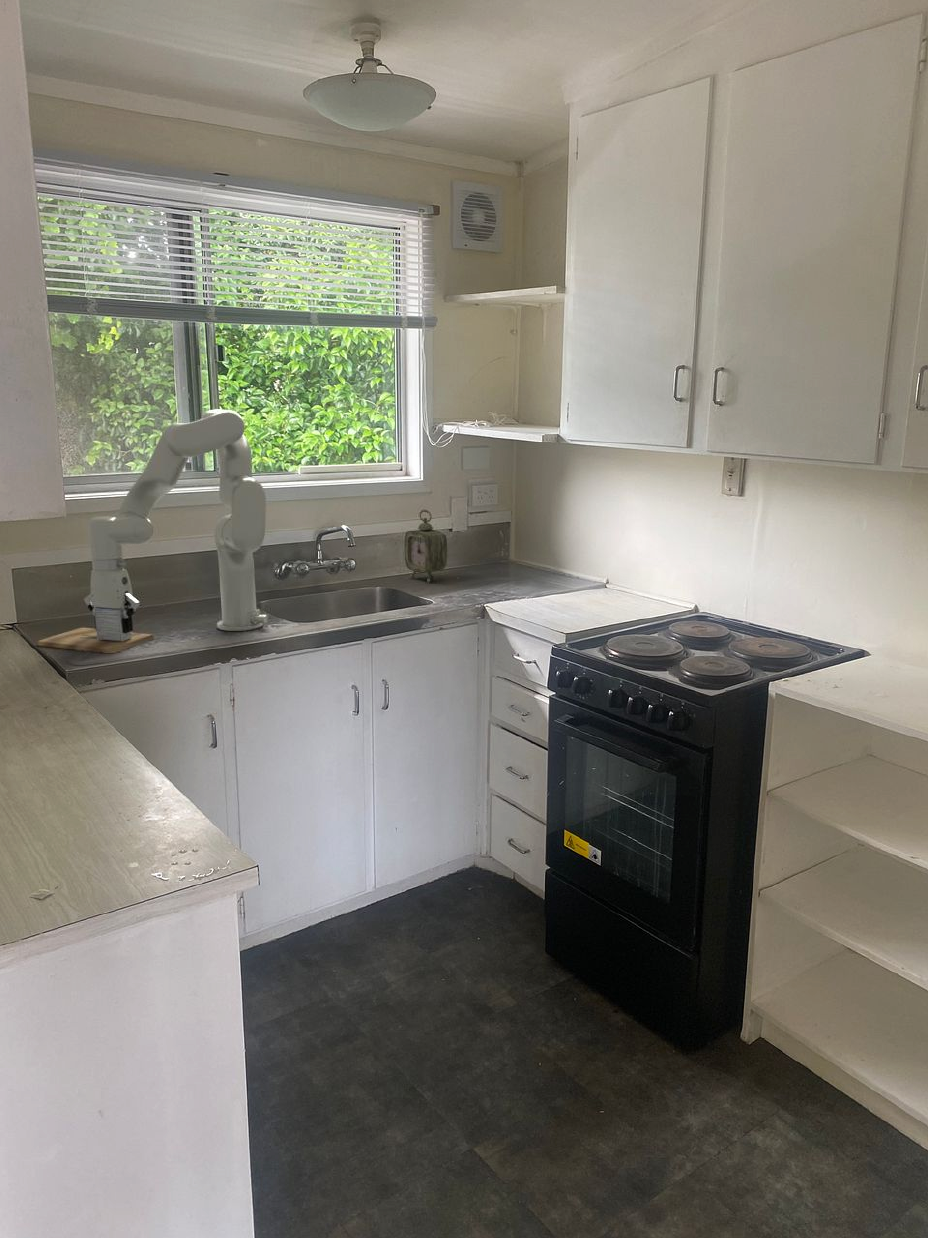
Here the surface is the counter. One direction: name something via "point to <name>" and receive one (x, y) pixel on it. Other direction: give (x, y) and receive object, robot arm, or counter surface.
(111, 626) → the medicine box
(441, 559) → the tabletop clock
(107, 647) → the light brown wooden board
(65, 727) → the counter surface
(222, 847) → the counter surface
